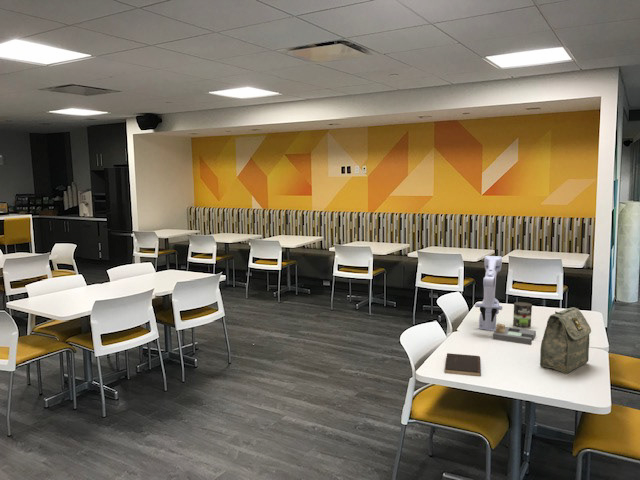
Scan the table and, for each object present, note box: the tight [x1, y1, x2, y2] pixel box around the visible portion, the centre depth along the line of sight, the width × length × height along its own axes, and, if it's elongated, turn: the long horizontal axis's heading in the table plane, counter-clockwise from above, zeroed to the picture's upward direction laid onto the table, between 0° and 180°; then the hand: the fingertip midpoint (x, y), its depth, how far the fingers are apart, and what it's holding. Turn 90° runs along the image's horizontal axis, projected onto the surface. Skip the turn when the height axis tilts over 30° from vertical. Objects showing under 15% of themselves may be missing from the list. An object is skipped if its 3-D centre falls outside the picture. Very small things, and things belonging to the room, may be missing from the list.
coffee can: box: [512, 301, 533, 330], centre depth 317 cm, size 10×10×14 cm
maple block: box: [495, 323, 506, 333], centre depth 296 cm, size 4×4×4 cm
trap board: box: [492, 326, 537, 346], centre depth 296 cm, size 20×18×3 cm
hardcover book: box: [444, 352, 482, 377], centre depth 252 cm, size 16×23×2 cm
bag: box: [539, 306, 592, 375], centre depth 251 cm, size 22×16×27 cm
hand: (488, 320), depth 299 cm, fingers open, 4 cm apart
